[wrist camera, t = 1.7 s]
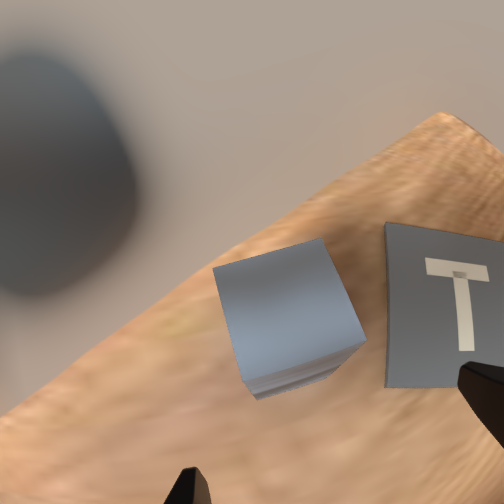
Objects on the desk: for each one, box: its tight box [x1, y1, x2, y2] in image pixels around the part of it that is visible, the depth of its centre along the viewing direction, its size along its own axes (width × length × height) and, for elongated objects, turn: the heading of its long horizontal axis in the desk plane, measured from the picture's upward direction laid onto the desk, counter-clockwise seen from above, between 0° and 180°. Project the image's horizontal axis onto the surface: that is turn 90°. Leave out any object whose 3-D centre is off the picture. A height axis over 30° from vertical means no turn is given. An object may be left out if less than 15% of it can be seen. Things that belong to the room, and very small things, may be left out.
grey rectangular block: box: [213, 238, 367, 400], centre depth 16 cm, size 5×5×10 cm
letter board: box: [384, 222, 504, 388], centre depth 21 cm, size 14×14×1 cm
